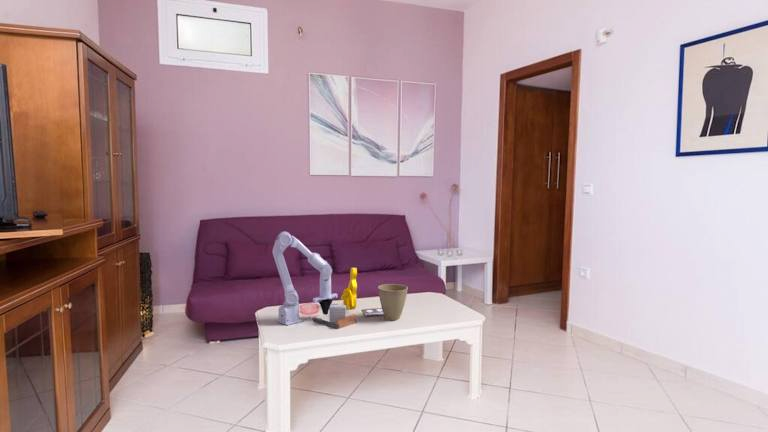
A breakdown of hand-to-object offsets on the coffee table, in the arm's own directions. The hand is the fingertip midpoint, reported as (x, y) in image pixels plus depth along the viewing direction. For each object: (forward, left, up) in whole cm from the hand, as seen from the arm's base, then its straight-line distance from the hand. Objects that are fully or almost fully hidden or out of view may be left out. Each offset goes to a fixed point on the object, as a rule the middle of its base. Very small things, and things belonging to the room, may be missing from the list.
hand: (325, 314), depth 219 cm
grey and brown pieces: (0, -7, -2) cm, 7 cm away
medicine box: (-1, -10, -3) cm, 10 cm away
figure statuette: (+22, +5, -3) cm, 23 cm away
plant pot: (+24, -24, -3) cm, 34 cm away
